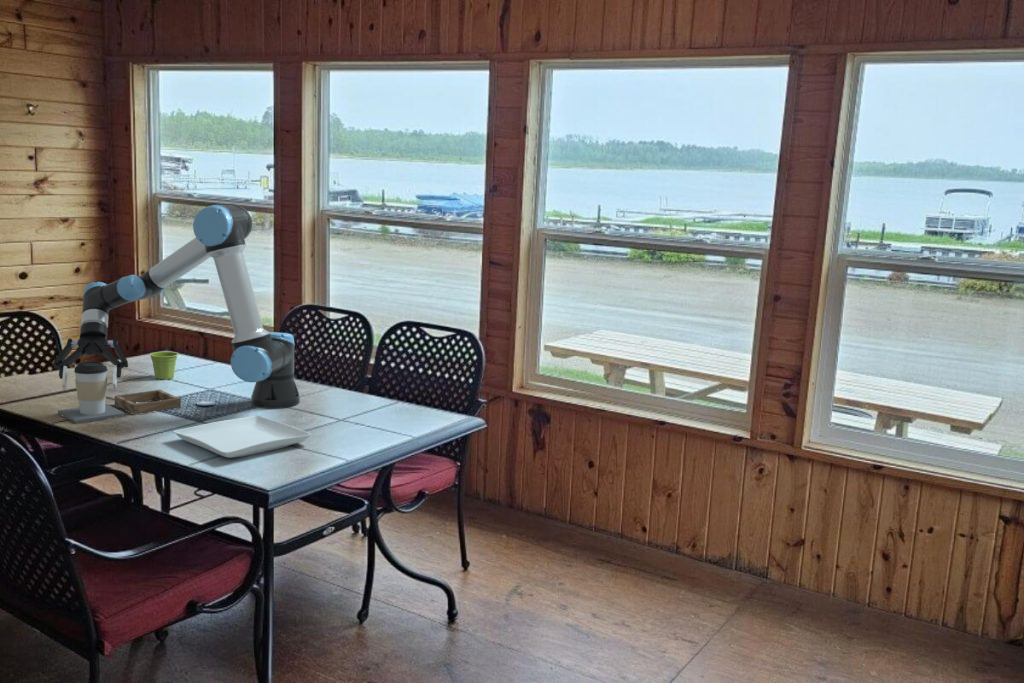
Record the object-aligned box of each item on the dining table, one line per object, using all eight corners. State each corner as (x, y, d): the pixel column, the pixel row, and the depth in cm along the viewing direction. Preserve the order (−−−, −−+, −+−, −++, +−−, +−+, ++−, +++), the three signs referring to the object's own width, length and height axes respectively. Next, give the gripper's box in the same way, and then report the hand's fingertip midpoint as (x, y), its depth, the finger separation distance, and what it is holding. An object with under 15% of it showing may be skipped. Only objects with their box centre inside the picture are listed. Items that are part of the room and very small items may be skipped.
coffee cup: (96, 406, 276) (94, 357, 274) (115, 411, 272) (114, 362, 269) (69, 412, 269) (66, 362, 266) (88, 417, 264) (86, 366, 262)
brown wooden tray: (180, 408, 283) (180, 398, 282) (134, 415, 272) (134, 405, 272) (160, 398, 292) (159, 389, 292) (114, 405, 282) (114, 395, 282)
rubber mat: (125, 416, 271) (124, 413, 270) (76, 423, 261) (75, 420, 260) (106, 406, 280) (105, 403, 280) (58, 413, 270) (58, 410, 270)
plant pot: (151, 375, 323) (150, 351, 322) (179, 374, 326) (178, 351, 325) (149, 381, 315) (148, 356, 313) (178, 380, 318) (177, 356, 316)
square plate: (313, 445, 252) (313, 432, 251) (225, 466, 231) (225, 451, 231) (258, 425, 269) (257, 412, 268) (171, 442, 249) (170, 429, 248)
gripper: (139, 334, 285) (136, 392, 273) (51, 334, 277) (44, 394, 266) (137, 320, 279) (134, 378, 267) (47, 320, 271) (40, 380, 260)
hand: (89, 386), depth 267 cm, fingers open, 13 cm apart
